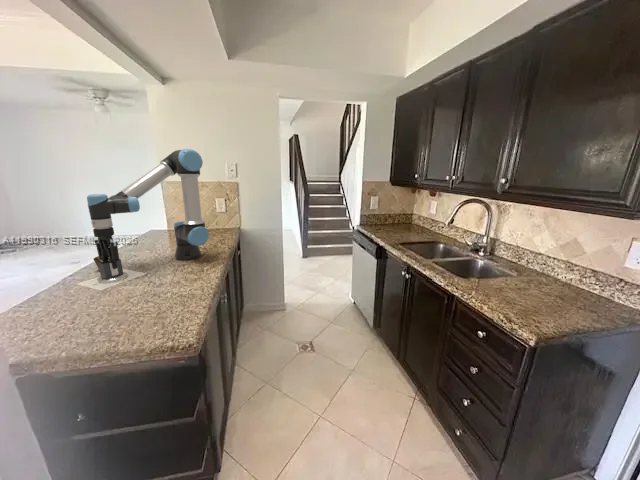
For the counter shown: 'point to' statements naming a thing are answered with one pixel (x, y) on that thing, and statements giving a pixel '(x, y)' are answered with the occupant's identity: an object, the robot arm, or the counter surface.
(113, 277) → the dial
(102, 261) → the rock
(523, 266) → the counter surface
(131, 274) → the dial panel
